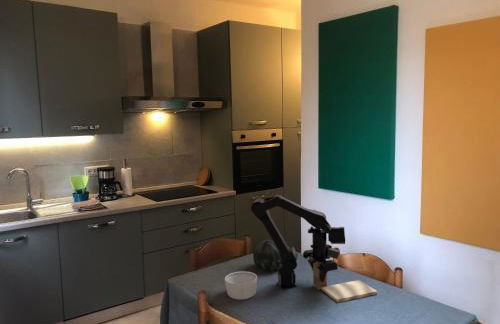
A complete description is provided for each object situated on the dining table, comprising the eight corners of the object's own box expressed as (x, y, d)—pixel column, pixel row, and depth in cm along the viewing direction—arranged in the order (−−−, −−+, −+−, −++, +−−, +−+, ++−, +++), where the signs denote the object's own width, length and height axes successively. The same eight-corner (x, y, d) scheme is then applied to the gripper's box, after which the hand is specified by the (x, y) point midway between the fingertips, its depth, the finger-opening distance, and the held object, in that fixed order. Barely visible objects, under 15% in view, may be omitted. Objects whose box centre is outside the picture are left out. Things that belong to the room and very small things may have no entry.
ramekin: (219, 299, 159) (219, 282, 158) (232, 285, 171) (232, 269, 170) (251, 303, 154) (250, 286, 154) (262, 289, 167) (261, 273, 166)
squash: (272, 248, 201) (257, 230, 193) (295, 256, 190) (280, 238, 182) (256, 272, 195) (241, 255, 187) (279, 281, 184) (264, 264, 176)
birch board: (337, 302, 153) (337, 299, 153) (321, 290, 164) (321, 287, 164) (377, 294, 159) (377, 291, 159) (359, 282, 170) (359, 279, 170)
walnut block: (318, 289, 164) (317, 265, 163) (313, 285, 168) (313, 262, 167) (326, 287, 166) (326, 264, 165) (321, 284, 170) (321, 260, 168)
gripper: (349, 247, 159) (349, 285, 161) (324, 234, 176) (325, 269, 178) (324, 251, 155) (325, 290, 157) (302, 238, 173) (302, 273, 174)
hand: (319, 279), depth 167 cm, fingers closed on walnut block, 4 cm apart
